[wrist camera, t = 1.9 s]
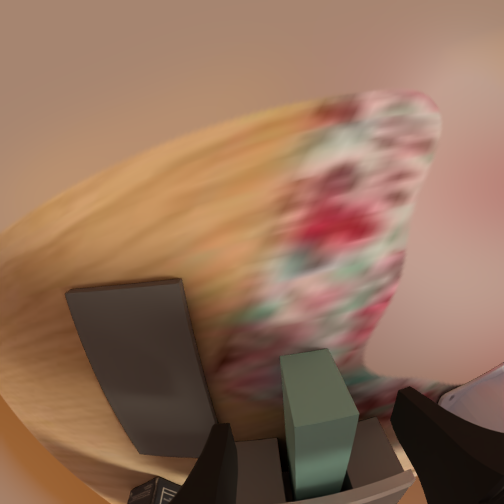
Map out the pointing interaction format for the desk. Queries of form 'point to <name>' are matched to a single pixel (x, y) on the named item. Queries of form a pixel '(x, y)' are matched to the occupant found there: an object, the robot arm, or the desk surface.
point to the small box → (154, 492)
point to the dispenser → (355, 481)
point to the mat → (147, 363)
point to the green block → (316, 423)
